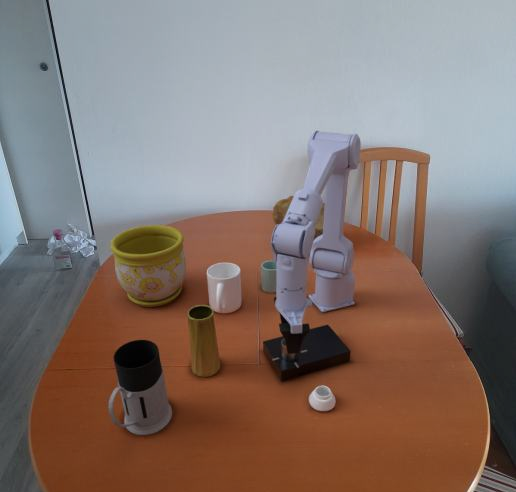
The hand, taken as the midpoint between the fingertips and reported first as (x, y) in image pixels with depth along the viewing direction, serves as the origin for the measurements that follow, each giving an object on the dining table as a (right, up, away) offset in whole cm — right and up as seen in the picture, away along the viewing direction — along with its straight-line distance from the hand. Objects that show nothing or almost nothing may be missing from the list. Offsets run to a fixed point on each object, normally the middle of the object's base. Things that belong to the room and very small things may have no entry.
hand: (290, 340), depth 91 cm
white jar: (+6, -11, -5) cm, 14 cm away
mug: (-15, +4, +22) cm, 27 cm away
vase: (-18, -7, +4) cm, 19 cm away
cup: (-3, +9, +31) cm, 32 cm away
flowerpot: (-34, +7, +29) cm, 45 cm away
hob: (+4, -5, +6) cm, 9 cm away
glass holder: (-28, -14, -10) cm, 33 cm away
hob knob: (0, -4, +2) cm, 4 cm away
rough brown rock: (+10, +21, +53) cm, 58 cm away
